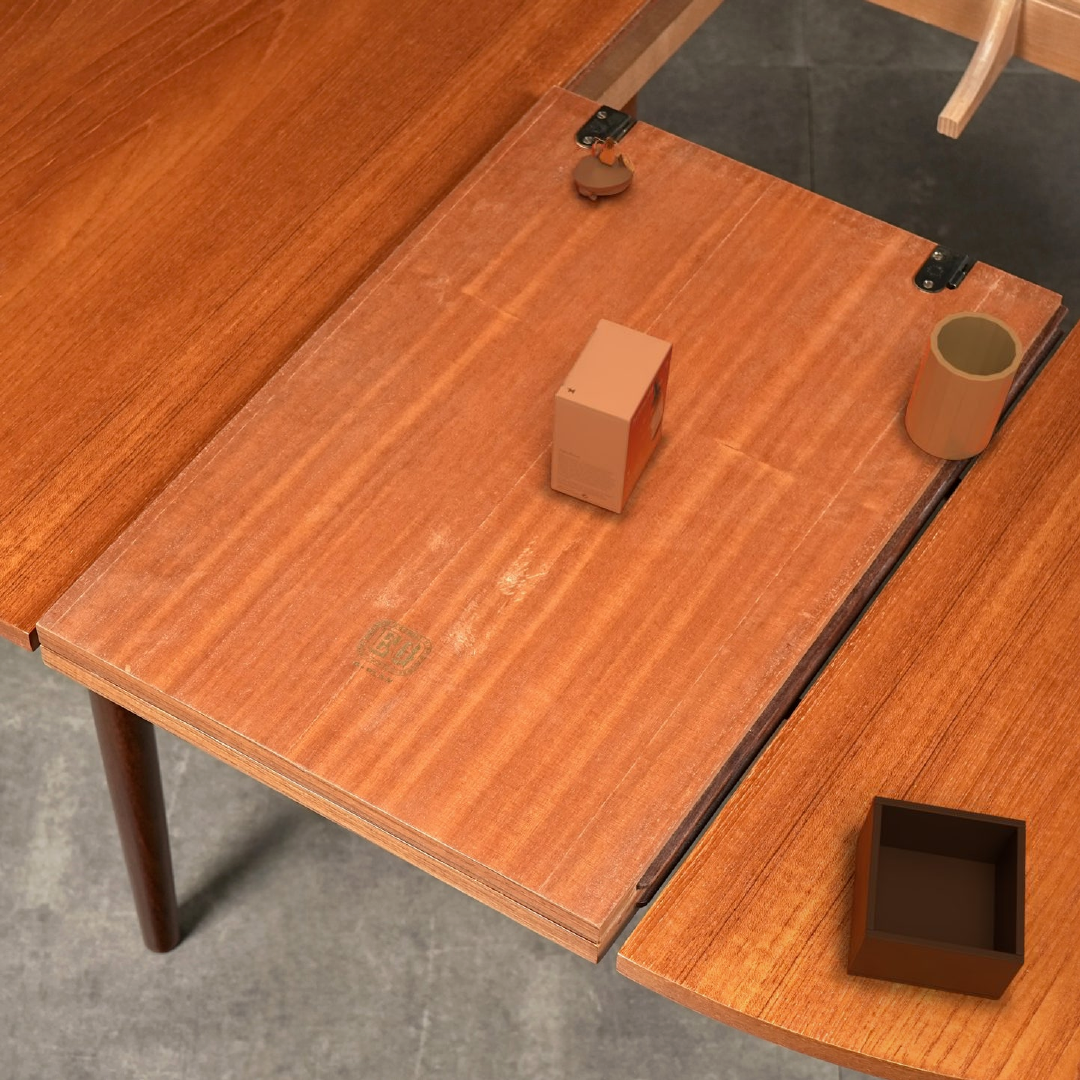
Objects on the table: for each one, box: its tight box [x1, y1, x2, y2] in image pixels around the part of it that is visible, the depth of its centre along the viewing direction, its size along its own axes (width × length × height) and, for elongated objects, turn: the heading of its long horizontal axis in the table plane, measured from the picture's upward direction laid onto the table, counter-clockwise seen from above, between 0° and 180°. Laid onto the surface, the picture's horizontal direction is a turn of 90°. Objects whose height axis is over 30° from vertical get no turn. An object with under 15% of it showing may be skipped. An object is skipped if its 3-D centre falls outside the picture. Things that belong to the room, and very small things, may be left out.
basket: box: [846, 795, 1027, 1001], centre depth 101 cm, size 9×9×6 cm
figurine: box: [572, 136, 637, 202], centre depth 137 cm, size 5×4×6 cm
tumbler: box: [904, 310, 1024, 461], centre depth 122 cm, size 6×6×9 cm
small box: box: [550, 317, 674, 515], centre depth 119 cm, size 8×6×10 cm
